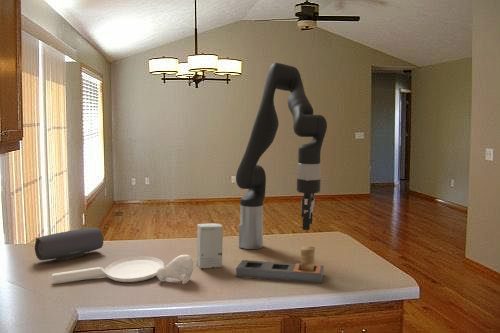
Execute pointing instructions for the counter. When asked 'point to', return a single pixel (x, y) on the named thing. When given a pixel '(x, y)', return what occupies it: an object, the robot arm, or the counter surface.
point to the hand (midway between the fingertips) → (307, 226)
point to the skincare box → (209, 245)
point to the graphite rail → (279, 271)
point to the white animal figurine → (177, 269)
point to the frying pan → (115, 271)
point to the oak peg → (307, 258)
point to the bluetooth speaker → (68, 244)
